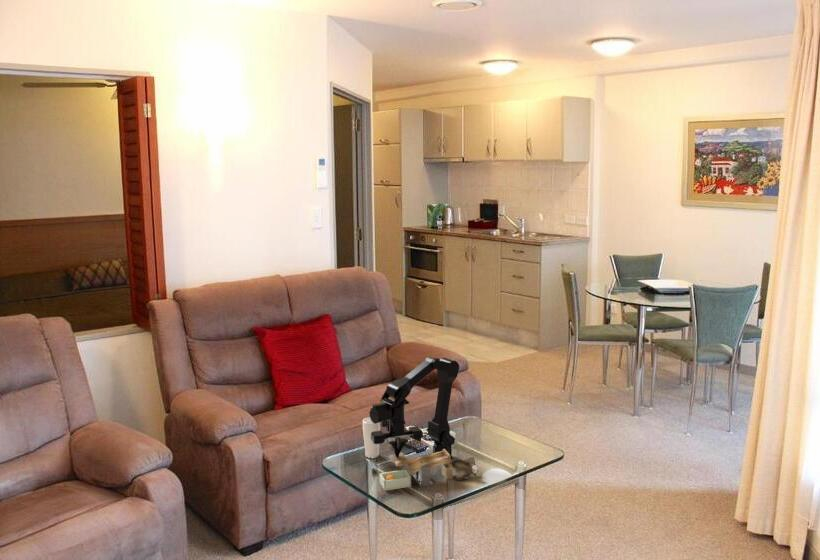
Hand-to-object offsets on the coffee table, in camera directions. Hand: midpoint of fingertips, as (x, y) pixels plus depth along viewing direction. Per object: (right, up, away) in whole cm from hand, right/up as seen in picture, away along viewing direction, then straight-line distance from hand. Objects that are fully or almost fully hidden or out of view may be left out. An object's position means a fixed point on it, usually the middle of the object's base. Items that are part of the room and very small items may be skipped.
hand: (396, 456), depth 272 cm
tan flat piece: (+9, -1, -2) cm, 9 cm away
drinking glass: (-10, -4, +16) cm, 19 cm away
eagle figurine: (+25, -7, -2) cm, 26 cm away
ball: (-2, -6, -9) cm, 11 cm away
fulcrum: (+14, -7, -3) cm, 16 cm away
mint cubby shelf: (0, -8, -8) cm, 11 cm away
